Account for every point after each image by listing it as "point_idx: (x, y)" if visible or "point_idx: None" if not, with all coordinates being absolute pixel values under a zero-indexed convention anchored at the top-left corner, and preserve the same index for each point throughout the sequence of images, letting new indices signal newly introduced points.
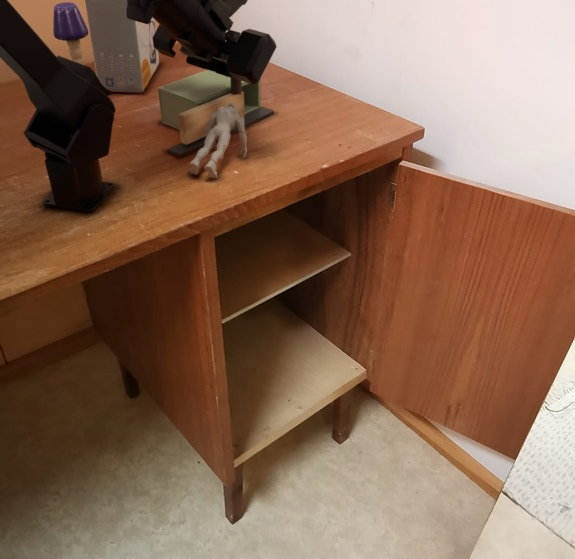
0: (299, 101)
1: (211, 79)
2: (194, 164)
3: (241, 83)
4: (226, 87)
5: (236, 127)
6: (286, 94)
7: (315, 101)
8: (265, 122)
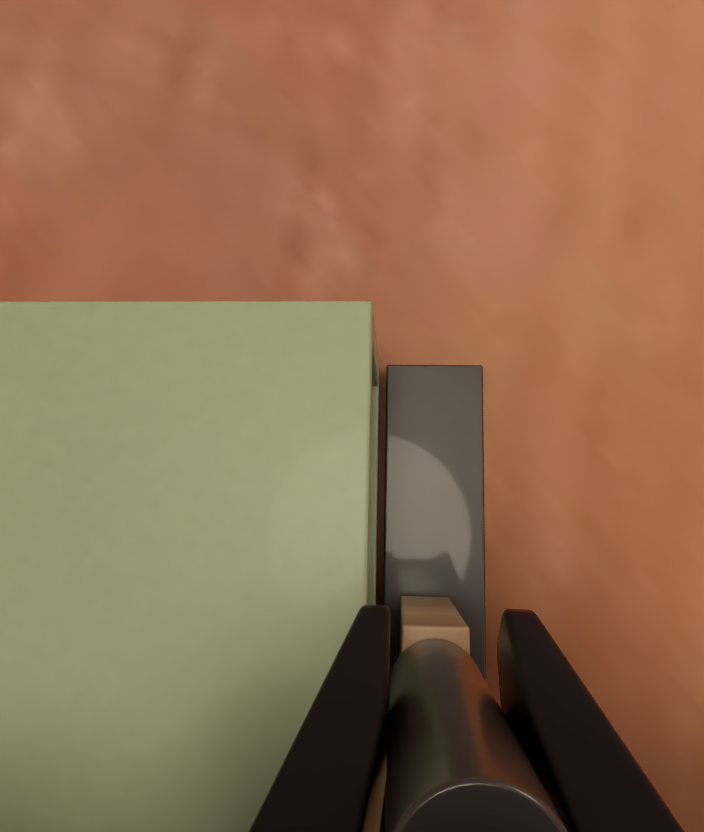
0: (469, 138)
1: (118, 655)
2: None
3: (483, 678)
4: None
5: None
6: (348, 112)
7: (538, 80)
8: (522, 492)
